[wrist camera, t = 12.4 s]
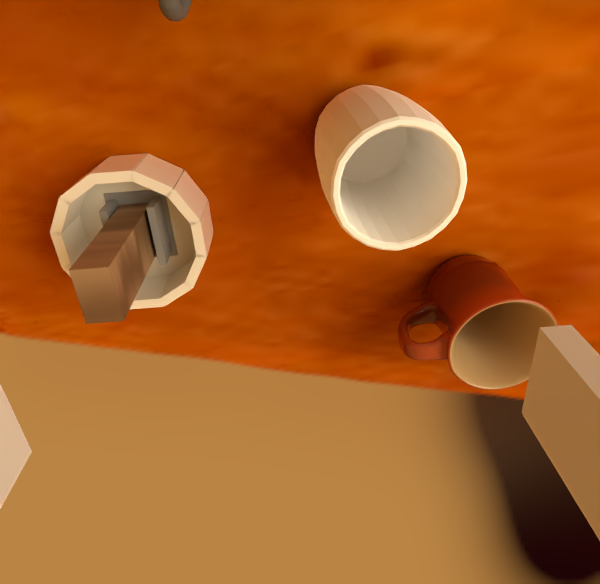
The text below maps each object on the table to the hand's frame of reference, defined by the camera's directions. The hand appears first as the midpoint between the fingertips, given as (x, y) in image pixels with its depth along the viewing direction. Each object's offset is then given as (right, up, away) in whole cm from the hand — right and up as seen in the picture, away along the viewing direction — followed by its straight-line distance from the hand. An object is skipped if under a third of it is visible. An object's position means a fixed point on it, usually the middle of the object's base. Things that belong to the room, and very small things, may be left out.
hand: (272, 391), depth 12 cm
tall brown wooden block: (-13, +8, +30) cm, 34 cm away
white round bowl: (-13, +9, +31) cm, 35 cm away
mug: (+15, +3, +36) cm, 39 cm away
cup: (+6, +15, +28) cm, 33 cm away
